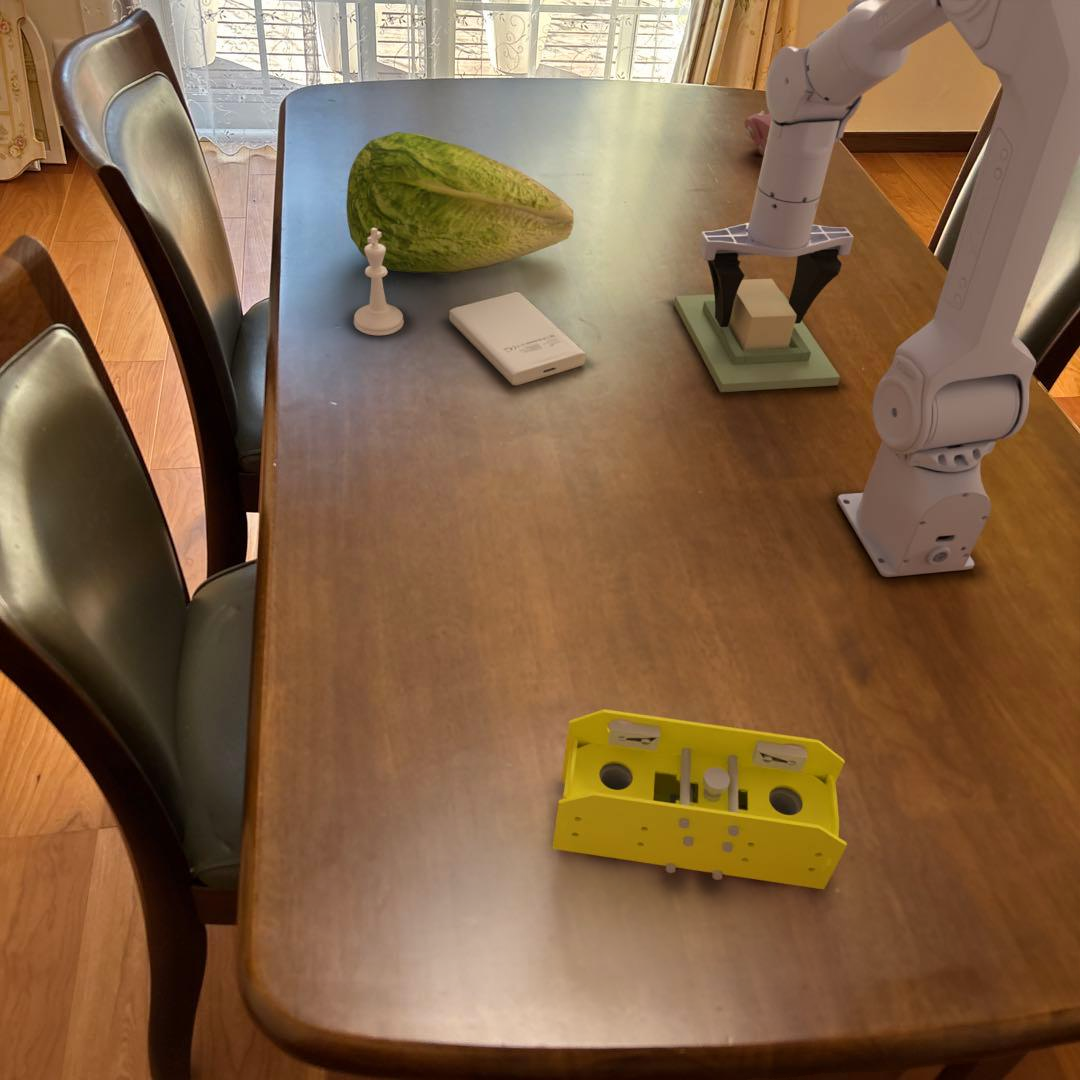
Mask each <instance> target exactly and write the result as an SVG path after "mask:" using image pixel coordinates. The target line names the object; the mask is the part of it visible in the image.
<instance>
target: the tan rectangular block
mask: <svg viewBox="0 0 1080 1080" xmlns="http://www.w3.org/2000/svg"><path fill="white" fill-rule="evenodd" d="M781 292H782V291H781V289H780V288H779V287H778V285H777V284H776V283H775V281H774V279H773V278H752V279H743V280H742V282H741V284H740V286H739V288H738V291H737V293H736V296H735V299H734V303H733V309H732V314H731V319H730V322H729V324H728V328H729V329H730V331H731V333H732V334H733V336H734V338H735V340H736V341H737V343H738V345H739V346H740V348H741V350H742V351H744V350H763V349H782V348H788V346H789V343H790V339H791V335H792V332H793V328H794V324H795V321H796V317H797V315H796V313H795V312H794V310H793V309H792V307H791V306H790V304H789V303H788V301H789V300H788V299H787V300H788V301H787V300H786V299H785V297H786V296H785V297H784V296H783V294H784V293H783V294H782V293H781Z"/></svg>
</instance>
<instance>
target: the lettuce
mask: <svg viewBox="0 0 1080 1080" xmlns="http://www.w3.org/2000/svg"><path fill="white" fill-rule="evenodd" d="M346 218H347V224H348V225H347V226H348V230H349V236H350V239H351V240H352V242H353V243H354V245H355V246H356V247H357V249H358V250H359V252H360V253H361V255H362V256H363V257H365V258H367V256H366V254H365V251H364V248H365V247H366V246H367V245H368V244H371V243H368V242H367V238H368V237H370V236H371V229H372V228H373V227H374V228H377V231H379V232H381V234H382V237H380V238H379V239H378V244H382V245H383V246H384V247H385V248H386V252H385V255H384V258H383V262H382V266H384V267H385V268H386V269H388V270H390V271H396V272H405V273H415V274H416V273H417V274H439V275H440V274H441V275H454V274H461V273H464V272H470V271H475V270H480V269H485V268H488V267H492V266H495V265H498V264H502V263H506V262H509V261H511V260H514V259H517V258H521V257H524V256H528V255H530V254H533V253H535V252H538V251H541V250H543V249H546V248H550V247H551V246H554V245H556V244H559V243H562V242H563V241H565V240H567V239H569V238H570V236H571V234H572V232H573V227H574V224H575V217H574V209H573V208H572V207H571V206H570V205H569V204H568V203H567V202H566V201H565V200H564V199H563V198H561V197H560V196H559V195H558V194H557V193H555V192H554V191H552V190H551V189H549V188H548V187H546V186H544V185H543V184H541V183H540V182H538V181H537V180H536V179H534V178H532V177H530V176H529V175H527V174H526V173H525V172H522V171H521V170H519V169H517V168H514V167H513V166H511V165H510V166H509V165H507V164H505V163H502V162H500V161H498V160H495V159H492V158H491V157H489V156H486V155H484V154H481V153H479V152H477V151H475V150H472V149H470V148H468V147H465V146H463V145H459V144H455V143H452V142H448V141H444V140H441V139H437V138H433V137H430V136H427V135H424V134H420V133H412V132H403V131H396V132H394V133H390V134H387V135H384V136H381V137H377V138H374V139H371V140H369V141H368V142H367V143H366V144H365V146H364V147H362V149H361V150H359V151H358V152H357V154H356V157H355V159H354V161H353V163H352V165H351V167H350V171H349V175H348V178H347V190H346Z"/></svg>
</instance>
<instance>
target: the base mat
mask: <svg viewBox="0 0 1080 1080" xmlns="http://www.w3.org/2000/svg"><path fill="white" fill-rule="evenodd" d="M781 293H782V294H783V296H784V297H785V299H786V300H787V301H788V303H789V299H788V298H787V297H786V295H785V294H784V292H783V291H781ZM673 306H674V307H675V310H676V311H677V313H678V316H679V317H680V319H681V320H682V322H683V324H684V327H685V328H686V330H687V332H688V334H689V336H690V337H691V340H692V341H693V343H694V345H695V347H696V349H697V351H698V353H699V355H700V356H701V358H702V361H703V362H704V364H705V366H706V368H707V370H708V371H709V374H710V375H711V378H712V379H713V381H714V383H715V385H716V387H717V389H718V391H719V393H731V392H732V393H733V392H748V391H764V390H765V391H767V390H783V389H799V388H814V387H833V386H838V385H839V382H840V379H841V376H840V374H839V373H838V371H837V370H836V368H835V367H834V366H833V364H832V362H831V361H830V360H829V358H828V356H827V355H826V354H825V353H824V351H823V349H822V348H821V346H820V345H819V344H818V342H817V340H816V339H815V338H814V336H813V335H812V333H811V332H810V330H809V329H808V327H807V326H806V324H805V323H804V321H803V320H802V321H801V323H799V324H794V328H793V332H792V335H791V339H790V343H789V346H788V348H782V349H763V350H744V351H742V350H741V348H740V346H739V345H738V343H737V341H736V340H735V338H734V336H733V334H732V333H731V331H730V329H729V328H728V327H720V325H719V323H718V322H717V320H716V318H715V295H714V293H712V294H692V295H675V297H674V301H673Z"/></svg>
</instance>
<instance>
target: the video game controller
mask: <svg viewBox="0 0 1080 1080" xmlns="http://www.w3.org/2000/svg"><path fill="white" fill-rule="evenodd" d="M771 120H772V117H771V115H770V113H767V114H766V112H765V111H764V110H761V111H760V112H759V113H754V114H752V115H751V116H749V117H748V118H746V119H745V120H744V128H745V136H747V137H748V138H750V139H751V141H753V143H754V145H755V147H756V149H757V150H758V153H759V154H760V155H761V156H762V157H764V153H765V148H766V144H767V139H768V134H769V130H770V125H771Z"/></svg>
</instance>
